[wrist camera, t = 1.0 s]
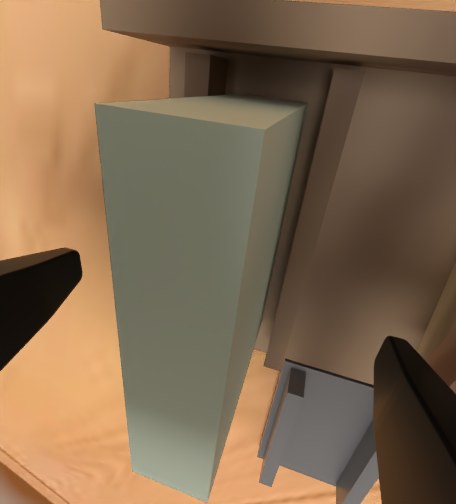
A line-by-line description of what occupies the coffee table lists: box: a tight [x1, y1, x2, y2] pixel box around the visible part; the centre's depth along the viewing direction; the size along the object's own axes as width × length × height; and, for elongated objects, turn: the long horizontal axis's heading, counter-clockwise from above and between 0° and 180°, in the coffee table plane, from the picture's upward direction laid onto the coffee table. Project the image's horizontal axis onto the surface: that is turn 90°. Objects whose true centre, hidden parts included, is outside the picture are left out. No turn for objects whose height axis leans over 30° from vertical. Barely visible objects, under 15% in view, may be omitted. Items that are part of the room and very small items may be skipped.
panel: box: [94, 94, 308, 503], centre depth 10 cm, size 2×10×8 cm, turn 173°
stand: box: [257, 358, 379, 504], centre depth 18 cm, size 6×10×2 cm
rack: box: [100, 0, 456, 385], centre depth 11 cm, size 18×14×5 cm
